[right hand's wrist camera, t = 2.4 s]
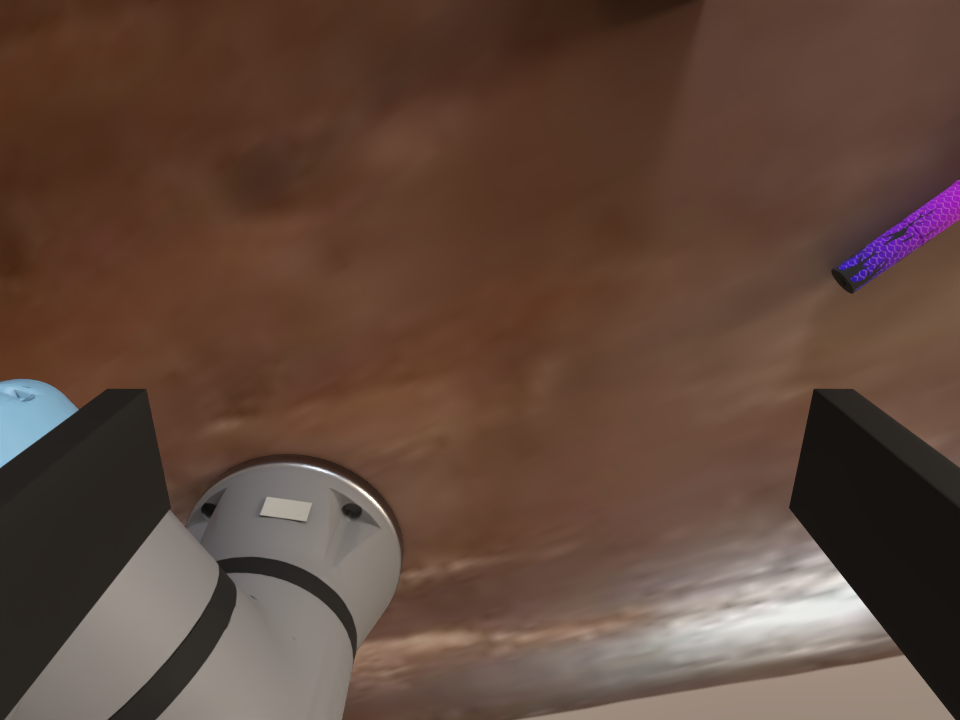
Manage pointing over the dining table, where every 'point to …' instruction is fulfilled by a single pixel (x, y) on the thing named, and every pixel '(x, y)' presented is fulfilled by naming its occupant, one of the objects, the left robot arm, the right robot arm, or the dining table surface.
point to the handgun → (900, 240)
